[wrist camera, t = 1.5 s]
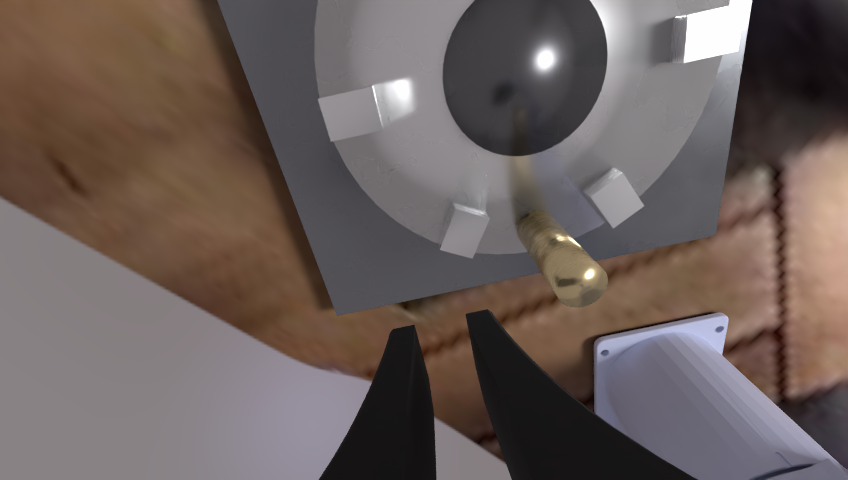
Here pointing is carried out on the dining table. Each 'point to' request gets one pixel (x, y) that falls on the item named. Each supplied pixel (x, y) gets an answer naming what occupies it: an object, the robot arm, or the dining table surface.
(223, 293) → the dining table surface
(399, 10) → the tabbed hub disc
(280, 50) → the base plate
